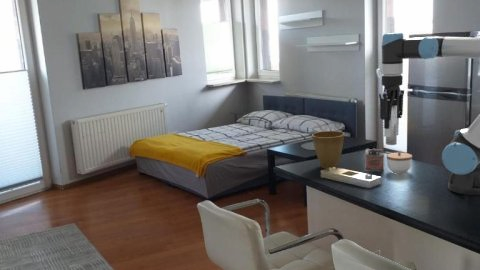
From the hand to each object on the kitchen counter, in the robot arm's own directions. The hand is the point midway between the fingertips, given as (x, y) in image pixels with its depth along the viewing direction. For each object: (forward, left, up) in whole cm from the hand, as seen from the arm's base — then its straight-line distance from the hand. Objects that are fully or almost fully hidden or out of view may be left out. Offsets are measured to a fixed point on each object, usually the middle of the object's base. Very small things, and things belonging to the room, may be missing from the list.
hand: (391, 135), depth 187 cm
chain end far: (+25, 0, -22) cm, 33 cm away
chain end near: (+15, 0, -22) cm, 27 cm away
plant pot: (+41, -11, -22) cm, 48 cm away
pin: (0, 0, -3) cm, 3 cm away
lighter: (+21, -19, -22) cm, 36 cm away
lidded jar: (+11, -23, -22) cm, 34 cm away
